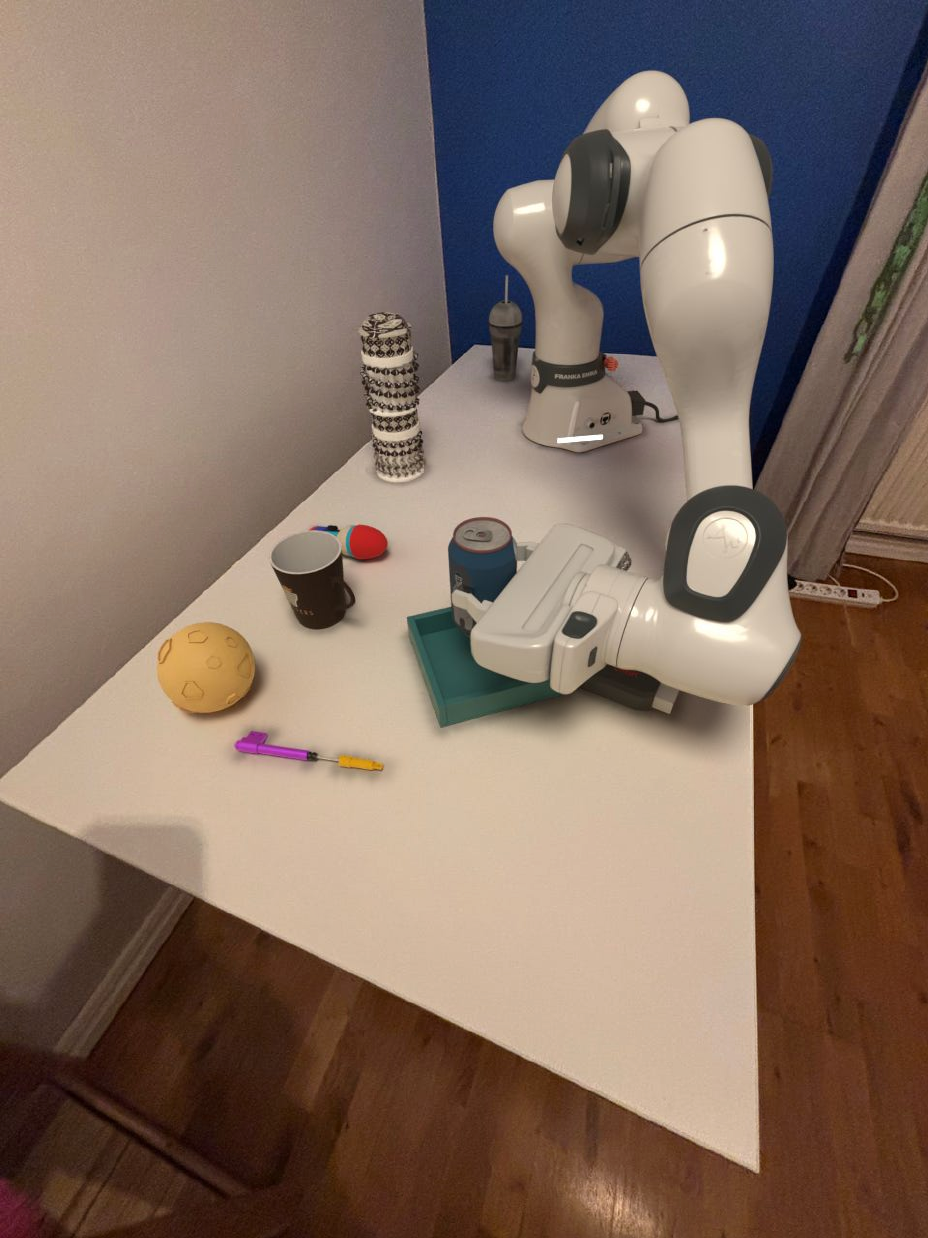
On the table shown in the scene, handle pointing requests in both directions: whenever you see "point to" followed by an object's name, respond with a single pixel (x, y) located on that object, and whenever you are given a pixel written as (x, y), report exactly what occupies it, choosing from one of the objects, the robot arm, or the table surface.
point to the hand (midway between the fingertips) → (475, 571)
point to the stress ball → (205, 667)
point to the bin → (463, 673)
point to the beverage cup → (505, 337)
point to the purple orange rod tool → (297, 752)
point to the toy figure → (358, 540)
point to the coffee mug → (312, 577)
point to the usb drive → (632, 689)
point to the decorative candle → (392, 396)
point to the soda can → (480, 562)
